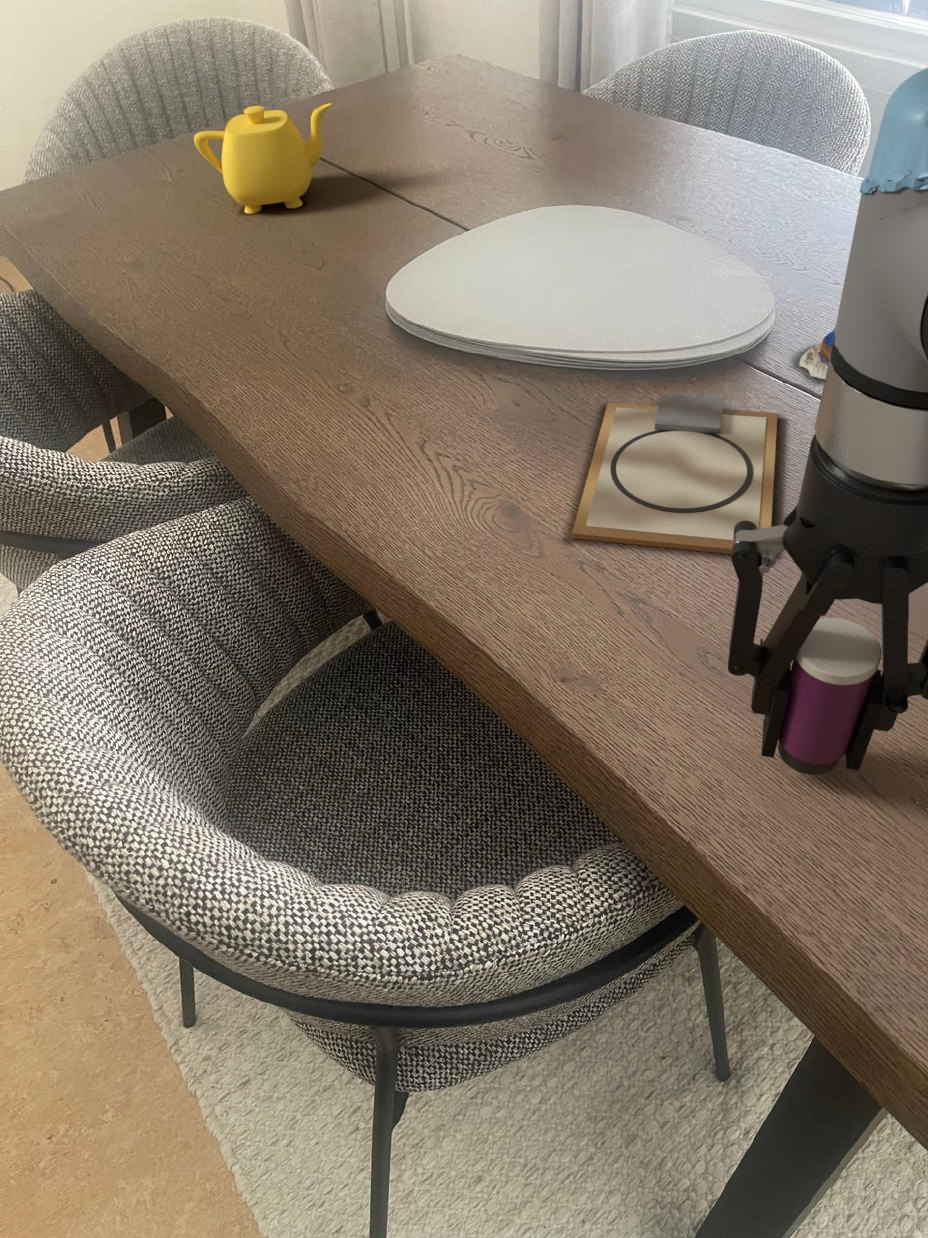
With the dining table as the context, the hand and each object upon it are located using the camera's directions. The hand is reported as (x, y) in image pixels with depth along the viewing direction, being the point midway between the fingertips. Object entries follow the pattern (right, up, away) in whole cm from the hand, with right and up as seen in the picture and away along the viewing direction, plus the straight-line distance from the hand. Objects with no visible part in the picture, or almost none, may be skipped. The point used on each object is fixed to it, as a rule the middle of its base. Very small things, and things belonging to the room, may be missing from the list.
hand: (810, 745), depth 60 cm
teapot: (-49, +70, +79) cm, 116 cm away
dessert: (+16, +33, +34) cm, 50 cm away
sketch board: (-3, +21, +24) cm, 32 cm away
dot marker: (0, 0, 0) cm, 1 cm away
